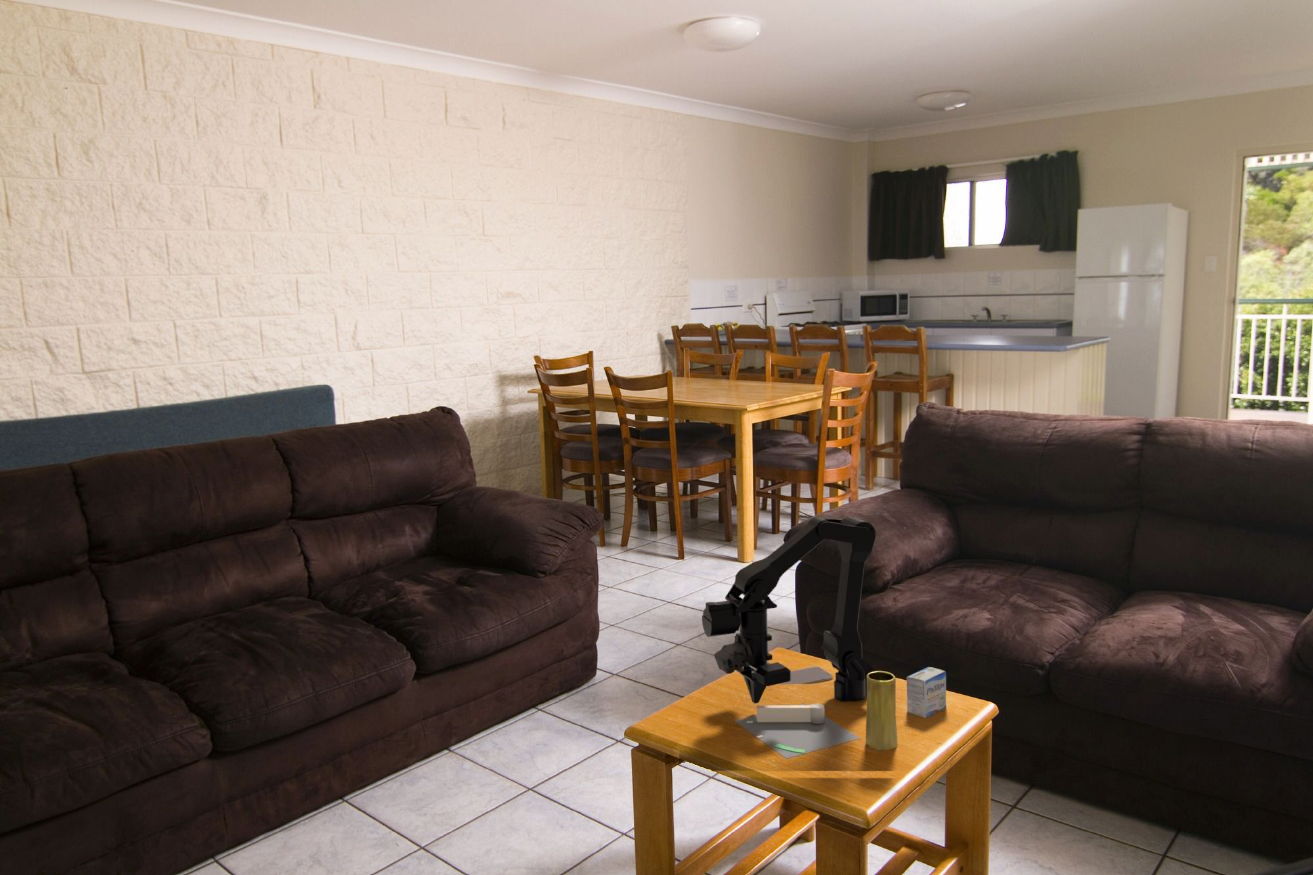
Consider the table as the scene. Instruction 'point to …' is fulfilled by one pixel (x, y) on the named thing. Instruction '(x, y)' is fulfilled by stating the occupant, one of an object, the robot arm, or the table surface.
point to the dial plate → (797, 735)
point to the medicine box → (926, 692)
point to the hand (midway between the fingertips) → (755, 702)
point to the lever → (791, 713)
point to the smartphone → (809, 676)
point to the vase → (881, 711)
